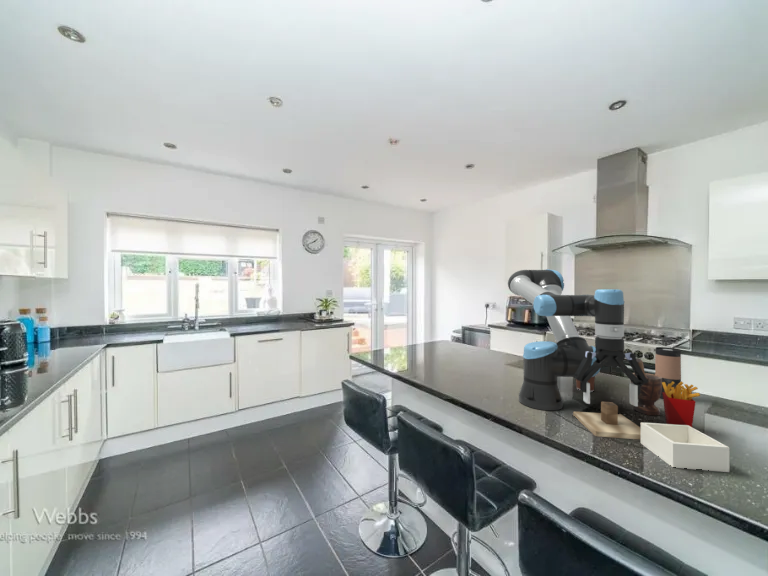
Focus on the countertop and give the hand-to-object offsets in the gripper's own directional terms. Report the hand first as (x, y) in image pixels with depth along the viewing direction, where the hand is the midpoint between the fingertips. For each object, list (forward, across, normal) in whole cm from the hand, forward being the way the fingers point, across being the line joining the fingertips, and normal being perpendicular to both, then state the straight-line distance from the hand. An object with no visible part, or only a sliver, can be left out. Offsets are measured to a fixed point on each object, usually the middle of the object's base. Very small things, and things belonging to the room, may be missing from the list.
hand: (609, 403), depth 97 cm
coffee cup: (+7, +10, +38) cm, 40 cm away
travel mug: (+7, +38, +32) cm, 50 cm away
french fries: (+8, +22, +2) cm, 23 cm away
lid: (+8, 0, 0) cm, 8 cm away
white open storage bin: (+8, +9, -16) cm, 20 cm away
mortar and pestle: (+8, +19, +14) cm, 25 cm away
